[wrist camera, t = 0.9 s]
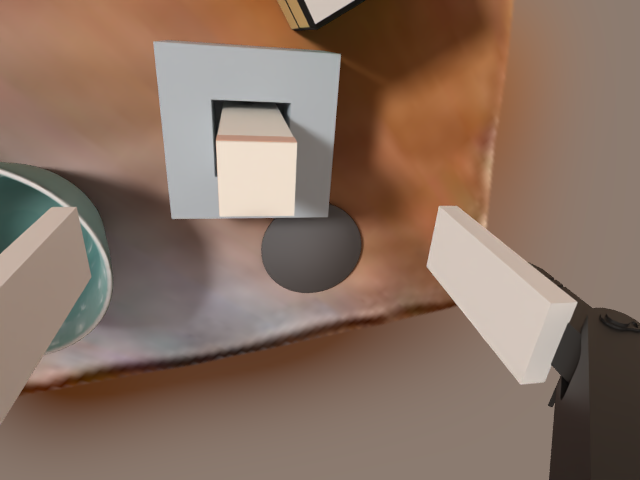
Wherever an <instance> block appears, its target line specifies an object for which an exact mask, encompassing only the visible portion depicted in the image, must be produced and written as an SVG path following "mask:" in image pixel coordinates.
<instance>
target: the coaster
mask: <svg viewBox="0 0 640 480" xmlns="http://www.w3.org/2000/svg"><path fill="white" fill-rule="evenodd" d="M261 252H262V260H263V264H264V267H265V269H266V271H267V273H268V274H269V275H270V277H271V278H272V279H273V280H274V281H275V282H276V283H278V284H279V285H281V286H282V287H284V288H286V289H289V290H291V291H295V292H301V293H313V292H319V291H323V290H326V289H329V288H331V287H333V286H335V285H337V284H338V283H340V282H341V281H343V280H344V279H345V278H346V277H347V276H348V275H349V274H350V273H351V272H352V270H353V269H354V267H355V266H356V264H357V261H358V259H359V256H360V252H361V237H360V233H359V230H358V228H357V226H356V224H355V222H354V221H353V219H352V218H351V217H350V216H349V215H348V214H347V213H346V212H345V211H343V210H342V209H340V208H338V207H336V206H334V205H331V204H329V210H328V217H304V218H275V219H274V220H273V221H272V222H271V224H270V225H269V227H268V228H267V230H266V232H265V234H264V237H263V241H262V248H261Z"/></svg>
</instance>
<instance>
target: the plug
mask: <svg viewBox="0 0 640 480" xmlns="http://www.w3.org/2000/svg"><path fill="white" fill-rule="evenodd" d="M216 154H217V175H218V197H219V215H220V217H232V216H294V209H295V184H296V160H297V141H296V139H295V137H293V135H292V133H291V131H290V129H289V127H288V126H287V124H286V122H285V120H284V118H283V116H282V115H281V113H280V111H279V109H278V107H277V105H276V104H275V102H255V101H232V100H224V103H223V108H222V114H221V119H220V124H219V129H218V134H217V137H216Z"/></svg>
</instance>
